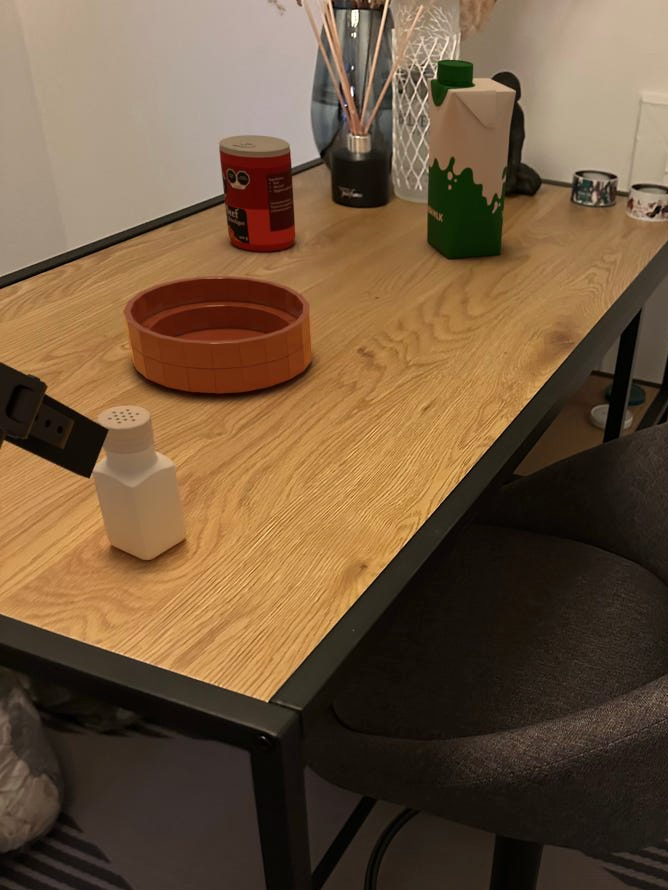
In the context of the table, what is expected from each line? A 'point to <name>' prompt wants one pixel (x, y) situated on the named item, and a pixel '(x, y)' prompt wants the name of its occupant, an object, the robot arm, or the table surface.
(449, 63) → the milk carton
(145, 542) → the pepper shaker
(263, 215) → the canned food
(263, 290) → the bowl
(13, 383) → the robot arm
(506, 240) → the table surface
